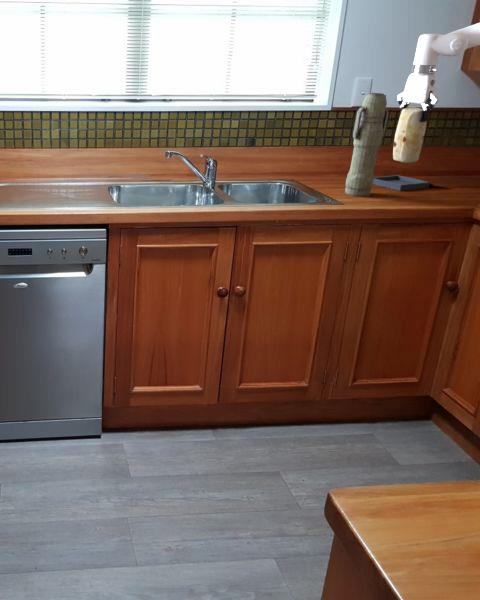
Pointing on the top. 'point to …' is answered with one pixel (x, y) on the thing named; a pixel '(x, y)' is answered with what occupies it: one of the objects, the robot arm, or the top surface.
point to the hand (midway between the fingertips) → (412, 120)
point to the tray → (400, 182)
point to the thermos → (366, 144)
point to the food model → (409, 136)
